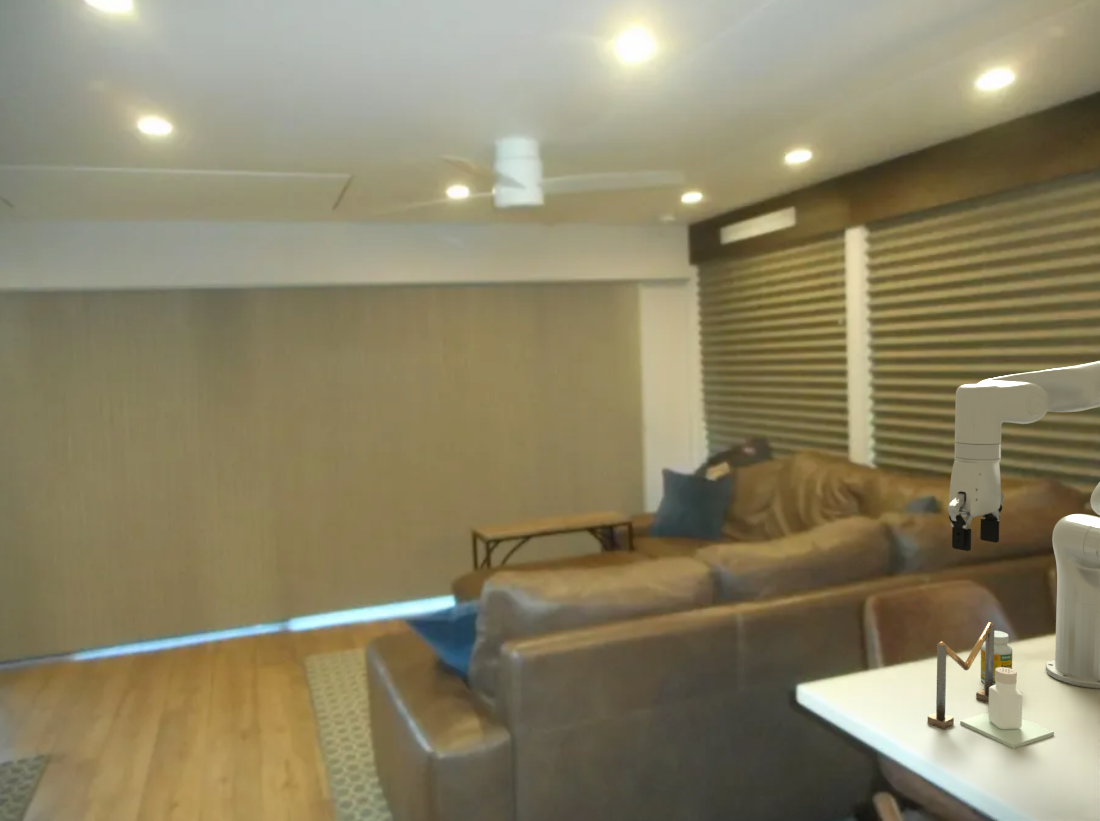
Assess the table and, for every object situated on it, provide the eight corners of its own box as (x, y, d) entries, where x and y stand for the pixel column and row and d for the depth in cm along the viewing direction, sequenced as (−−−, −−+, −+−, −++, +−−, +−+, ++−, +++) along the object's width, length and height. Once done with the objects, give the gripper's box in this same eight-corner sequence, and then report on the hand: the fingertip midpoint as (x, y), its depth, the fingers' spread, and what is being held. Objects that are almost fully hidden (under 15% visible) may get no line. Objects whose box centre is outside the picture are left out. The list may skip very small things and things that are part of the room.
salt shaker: (1023, 729, 142) (1024, 674, 142) (999, 730, 142) (1000, 675, 142) (1009, 719, 146) (1010, 665, 146) (986, 720, 146) (987, 666, 146)
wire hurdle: (984, 694, 158) (986, 618, 157) (1000, 700, 156) (1002, 622, 154) (927, 723, 147) (928, 641, 146) (944, 729, 145) (945, 646, 143)
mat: (999, 712, 151) (999, 708, 151) (1053, 735, 142) (1054, 731, 142) (960, 723, 146) (960, 720, 146) (1013, 748, 137) (1013, 744, 137)
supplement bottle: (989, 674, 167) (990, 627, 166) (1017, 683, 163) (1018, 634, 162) (974, 681, 164) (975, 632, 163) (1002, 690, 160) (1003, 640, 159)
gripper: (981, 446, 162) (980, 534, 164) (931, 454, 152) (929, 549, 154) (1022, 449, 156) (1020, 541, 157) (972, 459, 146) (970, 557, 148)
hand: (975, 545), depth 156 cm, fingers open, 9 cm apart
